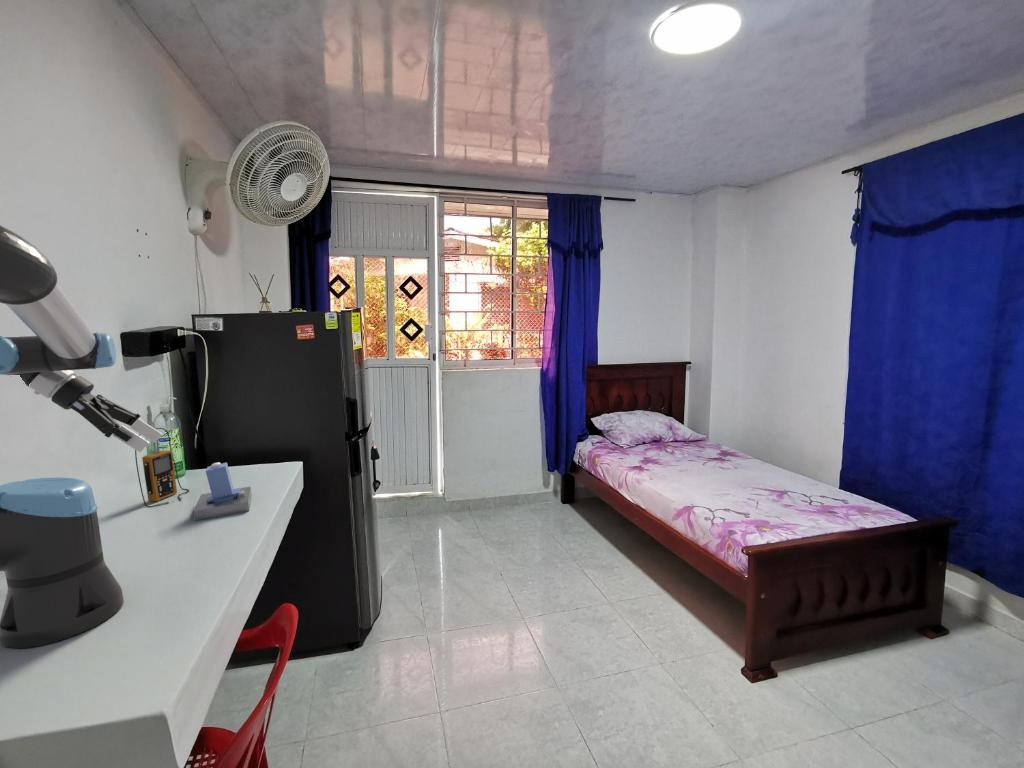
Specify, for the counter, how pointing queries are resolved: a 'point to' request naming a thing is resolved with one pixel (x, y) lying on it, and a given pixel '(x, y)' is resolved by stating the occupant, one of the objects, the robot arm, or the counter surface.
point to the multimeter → (159, 475)
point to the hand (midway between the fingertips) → (152, 442)
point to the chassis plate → (223, 505)
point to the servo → (220, 483)
